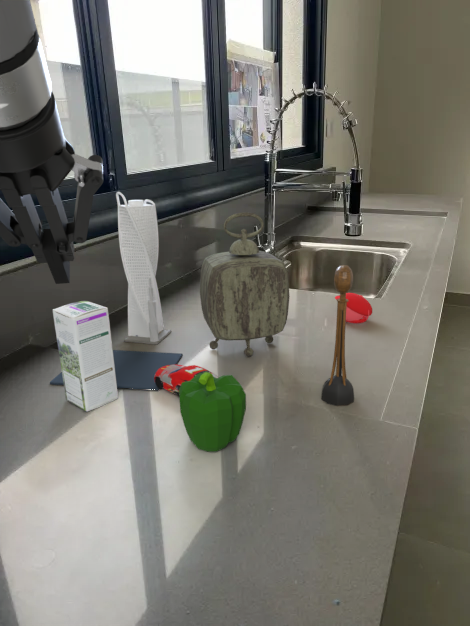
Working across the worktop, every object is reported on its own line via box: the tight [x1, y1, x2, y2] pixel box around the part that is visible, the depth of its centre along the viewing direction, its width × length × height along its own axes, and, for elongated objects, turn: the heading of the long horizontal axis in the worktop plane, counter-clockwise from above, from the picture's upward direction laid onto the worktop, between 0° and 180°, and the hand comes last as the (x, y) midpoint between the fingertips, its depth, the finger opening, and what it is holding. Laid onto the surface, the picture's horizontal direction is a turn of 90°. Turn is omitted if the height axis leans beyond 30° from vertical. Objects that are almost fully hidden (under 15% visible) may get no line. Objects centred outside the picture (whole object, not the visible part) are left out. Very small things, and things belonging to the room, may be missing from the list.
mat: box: [49, 349, 183, 391], centre depth 84 cm, size 18×14×1 cm
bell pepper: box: [178, 372, 247, 453], centre depth 61 cm, size 8×8×10 cm
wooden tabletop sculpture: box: [321, 264, 355, 407], centre depth 70 cm, size 6×5×20 cm
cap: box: [334, 292, 373, 324], centre depth 105 cm, size 8×6×6 cm
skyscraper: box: [115, 191, 172, 345], centre depth 95 cm, size 8×8×28 cm
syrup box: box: [52, 300, 119, 412], centre depth 71 cm, size 6×6×14 cm
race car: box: [154, 364, 220, 397], centre depth 74 cm, size 13×5×4 cm, turn 47°
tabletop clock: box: [199, 211, 291, 357], centre depth 86 cm, size 14×9×25 cm, turn 104°
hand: (62, 273), depth 56 cm, fingers closed
